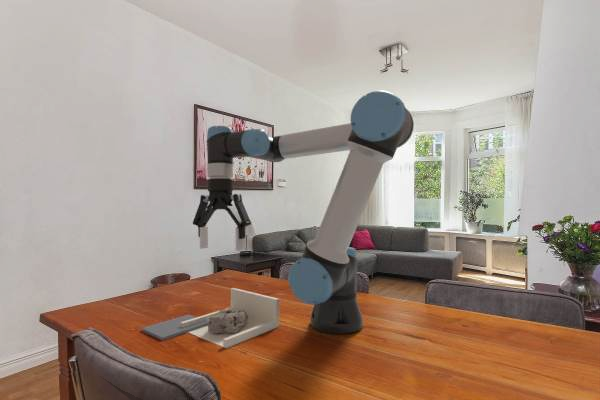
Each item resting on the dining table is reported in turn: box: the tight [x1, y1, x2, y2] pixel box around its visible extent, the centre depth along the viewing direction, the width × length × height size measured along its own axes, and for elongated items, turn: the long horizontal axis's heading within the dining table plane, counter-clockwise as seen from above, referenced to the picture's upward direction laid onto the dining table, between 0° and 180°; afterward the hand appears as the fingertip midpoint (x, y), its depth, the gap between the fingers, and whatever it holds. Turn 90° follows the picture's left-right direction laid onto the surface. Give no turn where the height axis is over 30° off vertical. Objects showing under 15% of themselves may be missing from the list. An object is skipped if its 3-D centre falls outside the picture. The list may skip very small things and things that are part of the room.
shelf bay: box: [181, 287, 280, 349], centre depth 99 cm, size 20×19×8 cm
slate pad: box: [141, 314, 209, 341], centre depth 99 cm, size 11×15×1 cm
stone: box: [208, 308, 249, 334], centre depth 99 cm, size 13×6×10 cm
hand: (221, 249), depth 105 cm, fingers open, 13 cm apart
